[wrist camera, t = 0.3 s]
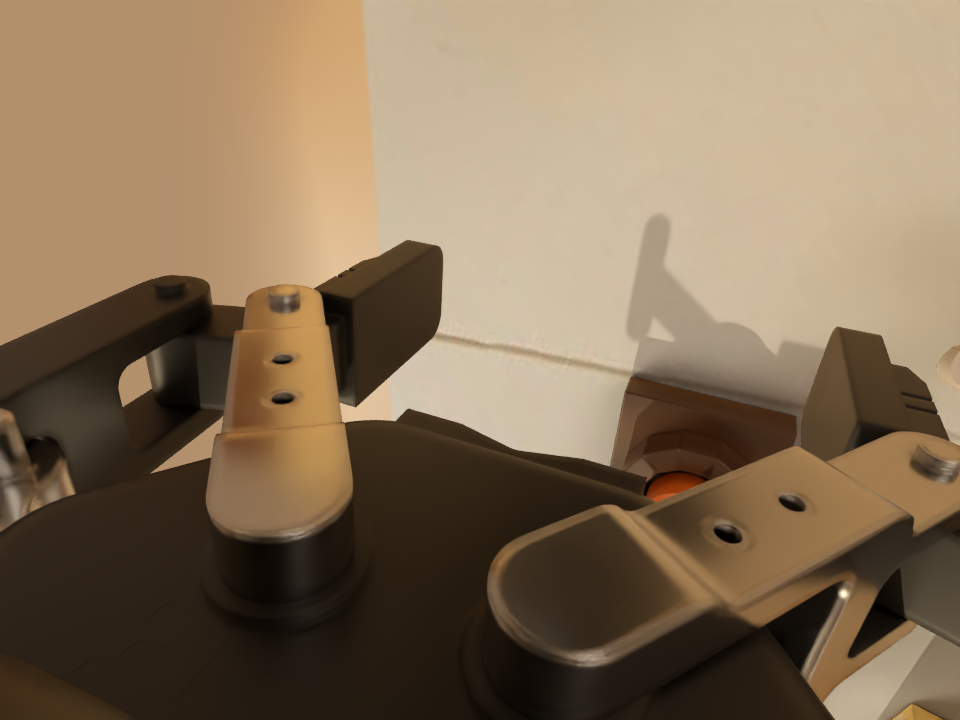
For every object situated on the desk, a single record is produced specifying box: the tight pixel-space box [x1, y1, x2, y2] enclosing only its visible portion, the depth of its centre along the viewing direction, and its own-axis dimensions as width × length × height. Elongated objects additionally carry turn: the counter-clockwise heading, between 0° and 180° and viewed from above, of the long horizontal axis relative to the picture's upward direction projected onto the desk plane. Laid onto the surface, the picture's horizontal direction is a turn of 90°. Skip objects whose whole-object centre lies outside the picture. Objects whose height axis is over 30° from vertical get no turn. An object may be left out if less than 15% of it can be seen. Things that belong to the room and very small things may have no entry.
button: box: [646, 472, 707, 502], centre depth 31 cm, size 4×4×2 cm
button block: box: [610, 377, 797, 496], centre depth 33 cm, size 9×8×4 cm
